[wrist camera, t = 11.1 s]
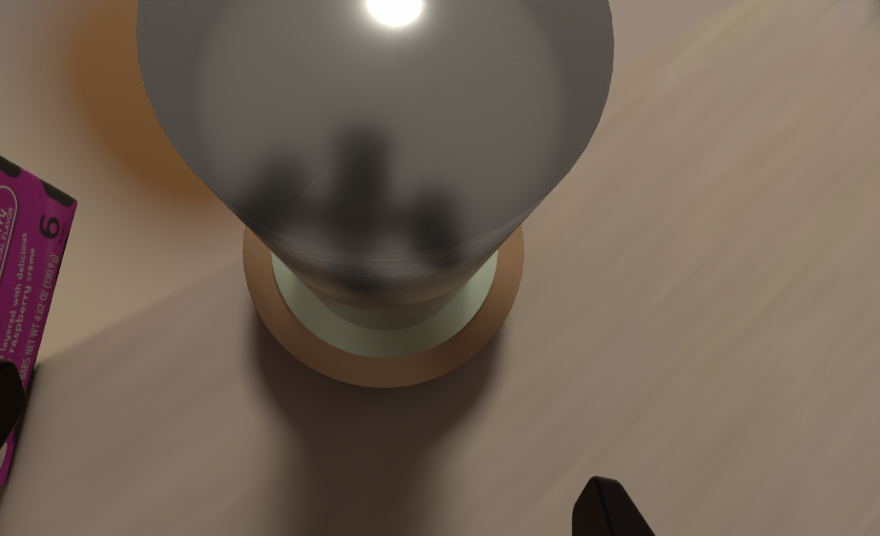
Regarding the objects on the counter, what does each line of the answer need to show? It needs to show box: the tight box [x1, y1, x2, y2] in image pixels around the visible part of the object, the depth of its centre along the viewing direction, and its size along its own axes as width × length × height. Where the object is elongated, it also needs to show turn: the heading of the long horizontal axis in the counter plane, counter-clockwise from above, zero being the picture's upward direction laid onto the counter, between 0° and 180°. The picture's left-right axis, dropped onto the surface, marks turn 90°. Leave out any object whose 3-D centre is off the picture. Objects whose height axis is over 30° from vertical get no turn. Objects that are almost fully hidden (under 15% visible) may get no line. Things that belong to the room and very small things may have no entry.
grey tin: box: [136, 0, 614, 330], centre depth 13 cm, size 6×6×13 cm
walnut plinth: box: [243, 225, 524, 388], centre depth 21 cm, size 10×10×3 cm
